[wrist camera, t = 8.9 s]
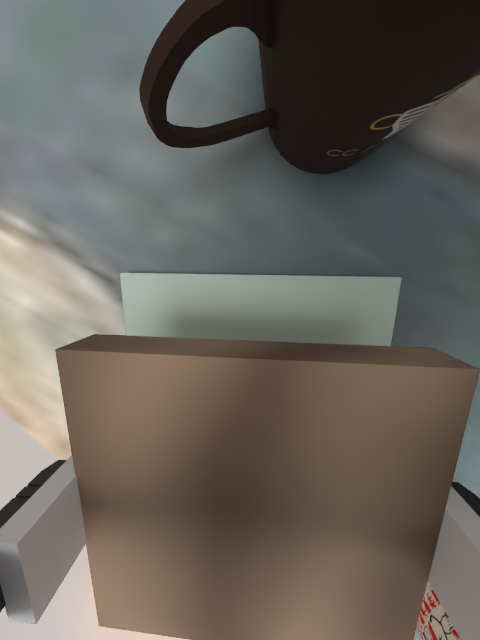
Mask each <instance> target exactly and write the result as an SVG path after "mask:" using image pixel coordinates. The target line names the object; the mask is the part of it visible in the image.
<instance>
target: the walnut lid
mask: <svg viewBox="0 0 480 640" xmlns="http://www.w3.org/2000/svg"><path fill="white" fill-rule="evenodd" d="M55 351H56V357H57V363H58V370H59V376H60V382H61V388H62V395H63V401H64V407H65V414H66V420H67V426H68V433H69V439H70V445H71V452H72V458H73V464H74V471H75V475H76V477H77V483H78V489H79V496H80V502H81V508H82V515H83V521H84V527H85V534H86V540H87V542H86V546H87V552H88V559H89V565H90V572H91V578H92V584H93V591H94V597H95V603H96V609H97V616H98V622H99V626H102V627H109V628H116V629H123V630H129V631H136V632H143V633H149V634H157V635H163V636H170V637H177V638H183V639H191V640H413V639H414V635H415V631H416V626H417V622H418V618H419V614H420V610H421V606H422V602H423V598H424V594H425V590H426V586H427V582H428V578H429V574H430V570H431V565H432V561H433V557H434V553H435V549H436V545H437V541H438V537H439V533H440V529H441V525H442V521H443V517H444V513H445V509H446V505H447V500H448V496H449V492H450V488H451V484H452V480H453V476H454V472H455V468H456V464H457V460H458V456H459V452H460V448H461V444H462V439H463V435H464V431H465V427H466V423H467V419H468V415H469V411H470V407H471V403H472V399H473V395H474V391H475V387H476V383H477V378H478V374H479V370H480V369H478V368H476V367H474V366H471V365H469V364H467V363H465V362H463V361H460V360H458V359H456V358H454V357H452V356H449V355H447V354H445V353H443V352H441V351H438V350H436V349H434V348H424V347H399V346H374V345H349V344H324V343H299V342H274V341H249V340H224V339H199V338H174V337H149V336H124V335H99V334H94V335H92V336H89V337H87V338H84V339H81V340H79V341H76V342H74V343H71V344H69V345H66V346H63V347H61V348H58V349H56V350H55Z"/></svg>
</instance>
